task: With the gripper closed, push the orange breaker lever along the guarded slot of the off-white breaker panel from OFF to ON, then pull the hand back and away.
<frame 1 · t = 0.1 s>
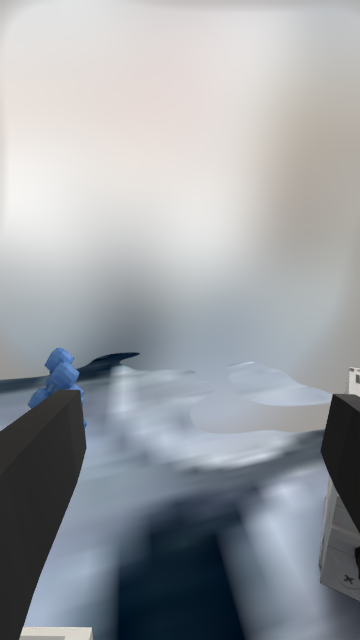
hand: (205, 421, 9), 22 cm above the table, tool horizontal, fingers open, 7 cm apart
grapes: (61, 439, 42), on the table
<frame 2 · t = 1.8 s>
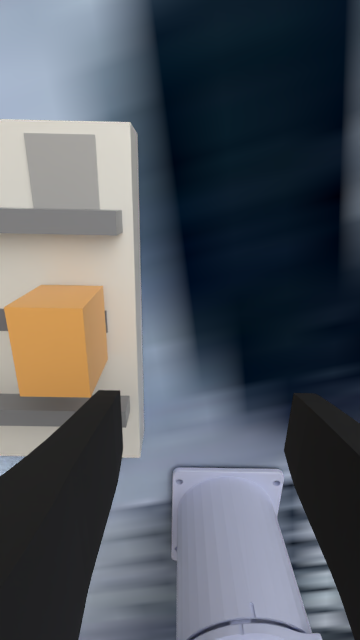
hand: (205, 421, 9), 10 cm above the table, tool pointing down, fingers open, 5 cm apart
breaker panel: (23, 304, 19), on the table
breaker lever: (64, 337, 15), point 5 cm above the table, slide at 0.0 cm
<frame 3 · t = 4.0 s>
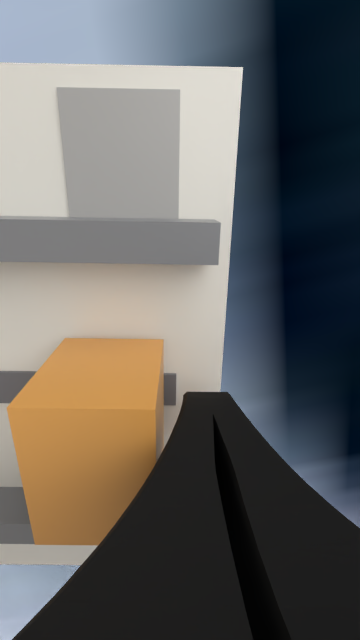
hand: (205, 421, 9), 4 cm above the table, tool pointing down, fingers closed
breaker panel: (43, 353, 13), on the table
breaker lever: (106, 430, 9), point 5 cm above the table, slide at 0.4 cm, touching gripper
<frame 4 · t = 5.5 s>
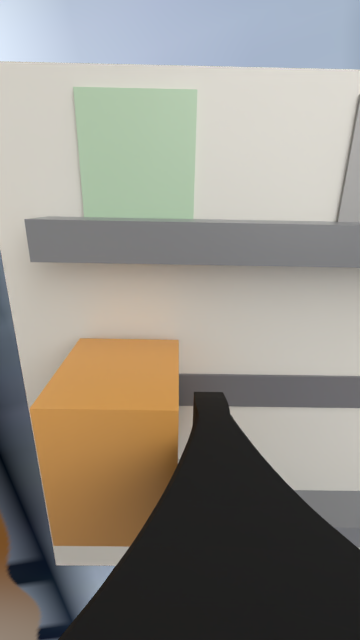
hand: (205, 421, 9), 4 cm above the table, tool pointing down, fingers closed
breaker panel: (222, 356, 13), on the table
breaker lever: (122, 431, 9), point 5 cm above the table, slide at 7.3 cm, touching gripper
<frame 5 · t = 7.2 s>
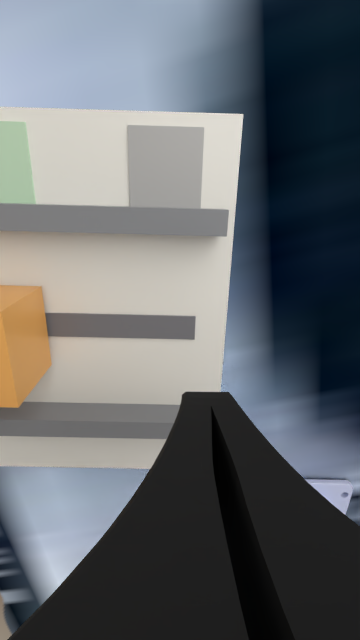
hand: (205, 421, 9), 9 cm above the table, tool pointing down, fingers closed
breaker panel: (94, 308, 18), on the table
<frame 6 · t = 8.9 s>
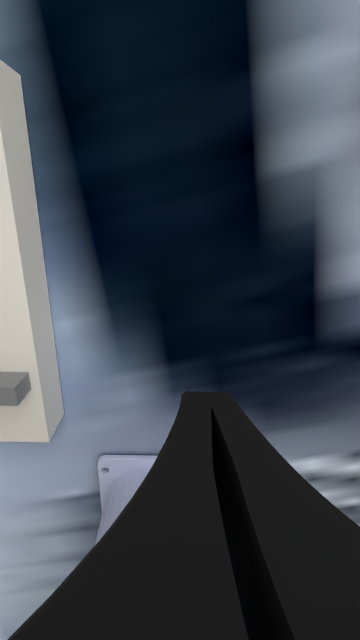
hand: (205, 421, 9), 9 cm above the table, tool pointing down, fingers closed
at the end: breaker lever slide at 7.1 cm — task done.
